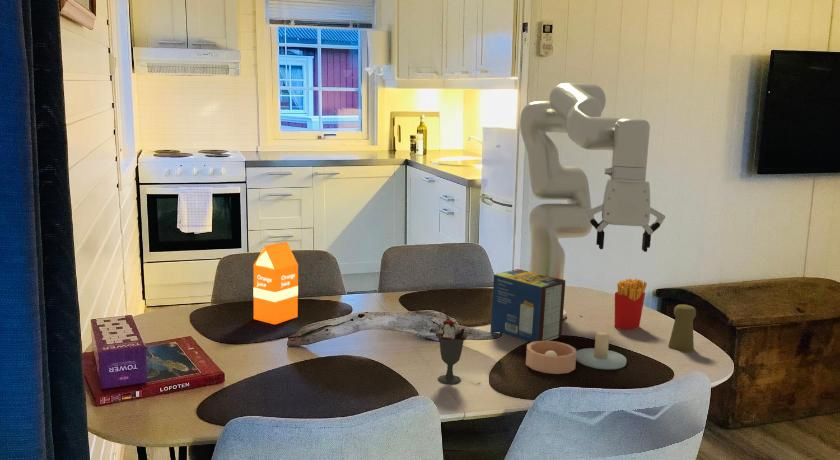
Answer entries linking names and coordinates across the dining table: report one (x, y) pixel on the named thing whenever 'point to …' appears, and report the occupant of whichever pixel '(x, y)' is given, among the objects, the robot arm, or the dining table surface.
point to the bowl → (551, 357)
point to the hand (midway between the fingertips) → (622, 249)
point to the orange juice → (275, 284)
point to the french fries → (629, 303)
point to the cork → (683, 329)
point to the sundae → (450, 348)
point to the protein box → (527, 305)
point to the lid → (601, 355)
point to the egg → (551, 353)
